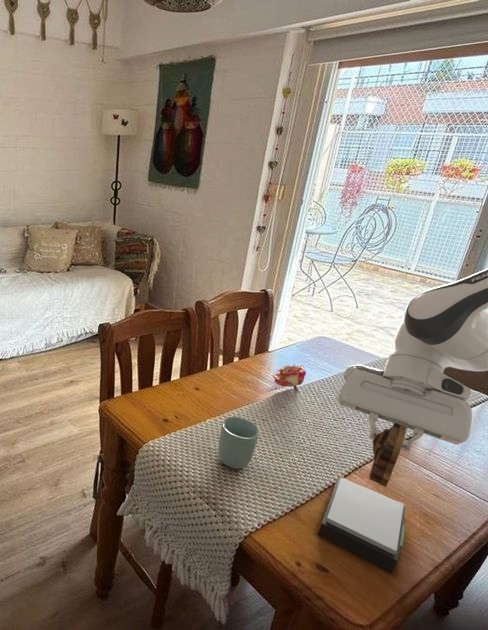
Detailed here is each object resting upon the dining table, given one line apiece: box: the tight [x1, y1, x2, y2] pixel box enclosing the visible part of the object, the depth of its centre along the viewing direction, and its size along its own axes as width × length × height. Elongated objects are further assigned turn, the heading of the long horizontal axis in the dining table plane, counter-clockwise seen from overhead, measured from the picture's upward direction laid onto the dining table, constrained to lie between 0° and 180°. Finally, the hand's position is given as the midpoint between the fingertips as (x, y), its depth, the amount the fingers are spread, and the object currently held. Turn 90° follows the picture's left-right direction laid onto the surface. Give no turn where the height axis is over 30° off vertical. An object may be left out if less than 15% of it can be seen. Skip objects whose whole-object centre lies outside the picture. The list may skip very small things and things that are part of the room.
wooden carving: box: [368, 423, 408, 488], centre depth 80 cm, size 16×5×10 cm, turn 143°
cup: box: [217, 416, 260, 470], centre depth 101 cm, size 8×8×10 cm
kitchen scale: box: [317, 477, 406, 573], centre depth 86 cm, size 12×16×4 cm
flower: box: [272, 363, 307, 392], centre depth 132 cm, size 10×9×8 cm
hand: (388, 444), depth 82 cm, fingers closed on wooden carving, 3 cm apart
